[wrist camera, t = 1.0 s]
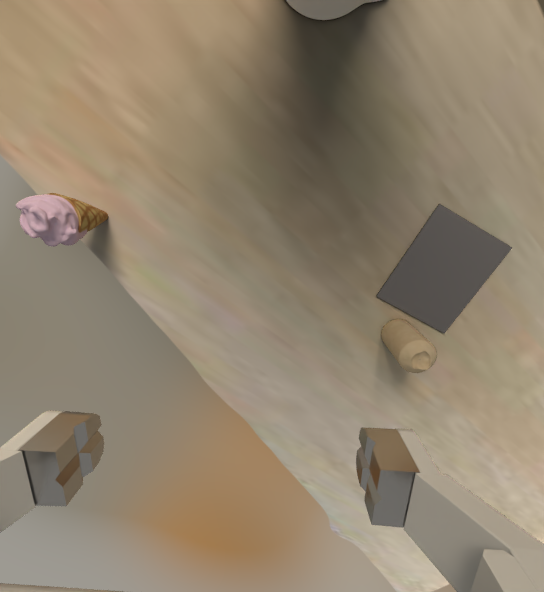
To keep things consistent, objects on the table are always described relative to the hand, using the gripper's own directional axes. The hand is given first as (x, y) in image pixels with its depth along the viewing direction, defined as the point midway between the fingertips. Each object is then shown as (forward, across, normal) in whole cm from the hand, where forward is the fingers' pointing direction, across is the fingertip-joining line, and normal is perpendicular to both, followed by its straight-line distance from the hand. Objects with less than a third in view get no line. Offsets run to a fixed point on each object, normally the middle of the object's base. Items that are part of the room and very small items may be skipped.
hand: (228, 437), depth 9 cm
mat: (+40, -28, +2) cm, 49 cm away
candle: (+41, -22, +13) cm, 48 cm away
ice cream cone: (+41, +28, -5) cm, 50 cm away
